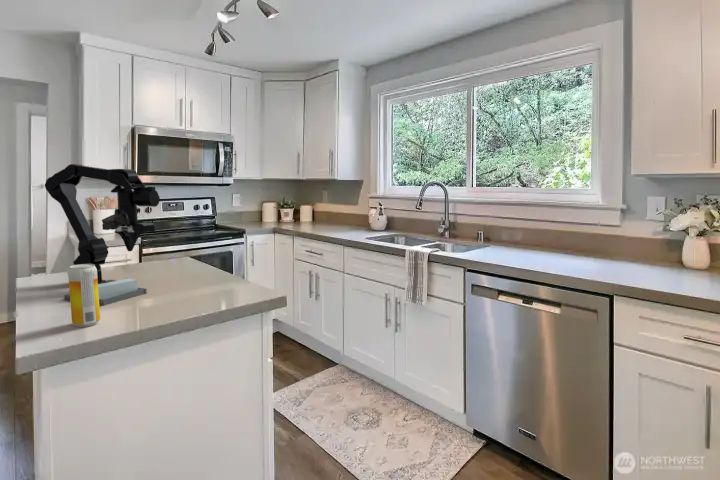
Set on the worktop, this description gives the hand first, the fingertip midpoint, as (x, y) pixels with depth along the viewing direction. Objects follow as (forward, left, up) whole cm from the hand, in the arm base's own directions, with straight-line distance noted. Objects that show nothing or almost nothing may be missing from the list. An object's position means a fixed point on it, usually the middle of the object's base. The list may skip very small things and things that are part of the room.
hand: (129, 251), depth 150 cm
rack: (+6, -15, -12) cm, 20 cm away
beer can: (+25, -36, -12) cm, 45 cm away
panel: (+10, -14, -12) cm, 21 cm away
